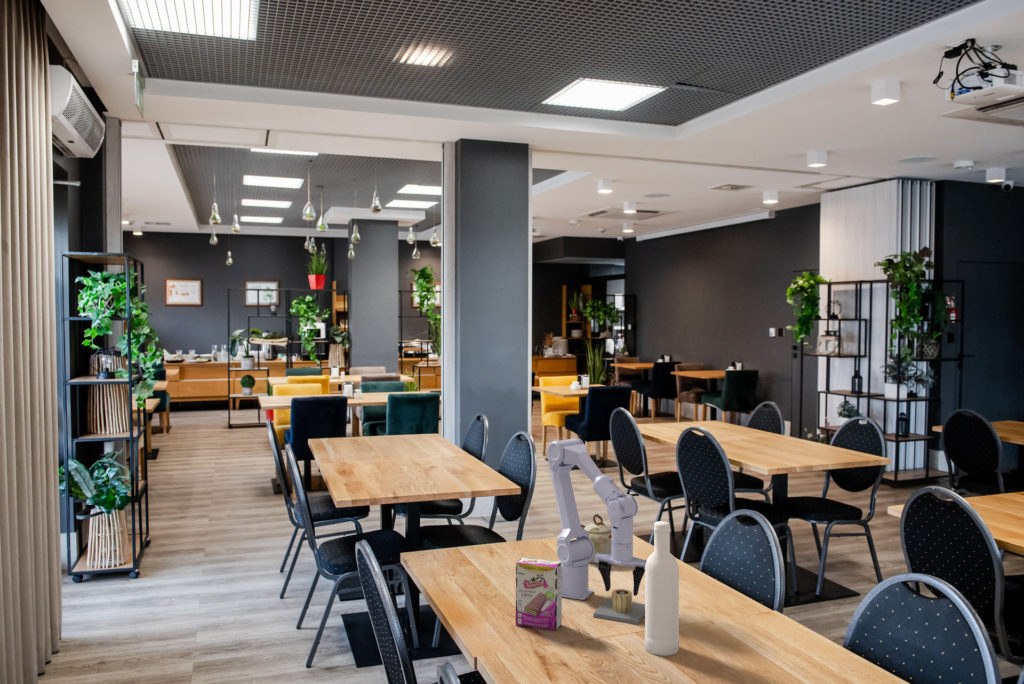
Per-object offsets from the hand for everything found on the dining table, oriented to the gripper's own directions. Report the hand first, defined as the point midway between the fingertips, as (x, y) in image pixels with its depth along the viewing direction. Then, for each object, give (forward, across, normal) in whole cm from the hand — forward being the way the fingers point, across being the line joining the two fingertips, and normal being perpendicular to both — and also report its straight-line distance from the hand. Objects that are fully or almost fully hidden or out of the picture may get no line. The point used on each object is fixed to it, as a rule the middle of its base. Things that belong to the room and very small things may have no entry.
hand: (621, 592), depth 199 cm
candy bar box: (+6, -17, -17) cm, 25 cm away
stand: (+6, 0, 0) cm, 6 cm away
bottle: (+6, +15, -18) cm, 24 cm away
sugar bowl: (+6, -20, +41) cm, 46 cm away
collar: (+4, 0, 0) cm, 5 cm away
